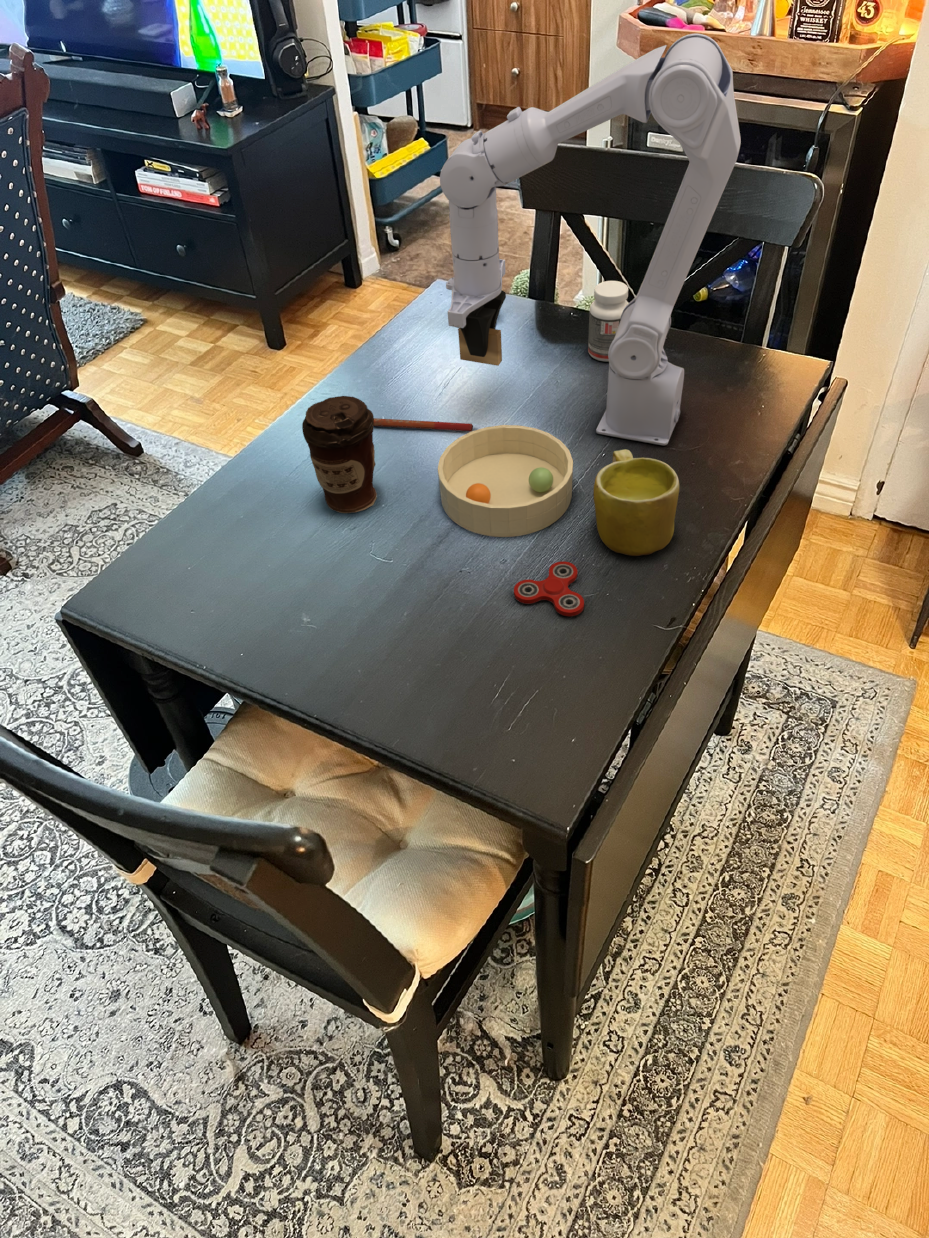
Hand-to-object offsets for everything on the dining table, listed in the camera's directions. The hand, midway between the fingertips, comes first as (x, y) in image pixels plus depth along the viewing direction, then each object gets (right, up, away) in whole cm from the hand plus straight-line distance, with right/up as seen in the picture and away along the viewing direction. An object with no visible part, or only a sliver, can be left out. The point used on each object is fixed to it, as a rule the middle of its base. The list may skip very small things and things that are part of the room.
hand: (480, 350), depth 120 cm
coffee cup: (-16, -21, -6) cm, 27 cm away
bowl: (+3, -20, -7) cm, 21 cm away
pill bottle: (+19, +3, +14) cm, 23 cm away
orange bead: (0, -21, -10) cm, 23 cm away
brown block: (0, -1, +1) cm, 1 cm away
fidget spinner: (+8, -32, -19) cm, 38 cm away
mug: (+18, -24, -13) cm, 33 cm away
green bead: (+7, -18, -9) cm, 22 cm away
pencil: (-10, -9, +4) cm, 14 cm away
